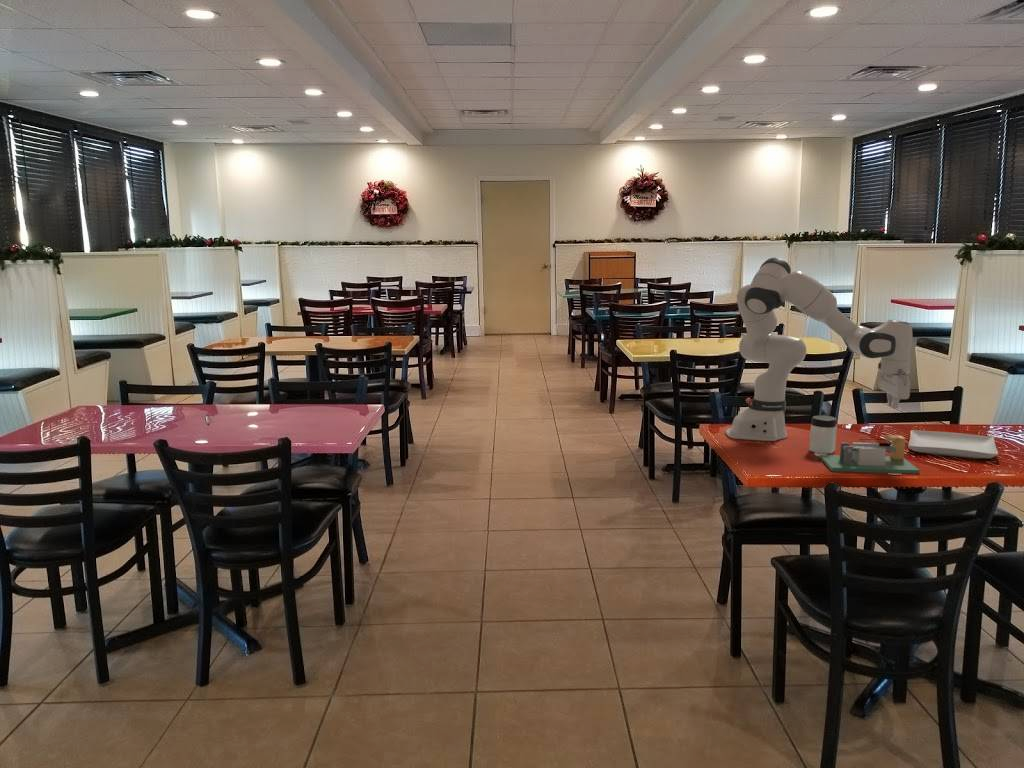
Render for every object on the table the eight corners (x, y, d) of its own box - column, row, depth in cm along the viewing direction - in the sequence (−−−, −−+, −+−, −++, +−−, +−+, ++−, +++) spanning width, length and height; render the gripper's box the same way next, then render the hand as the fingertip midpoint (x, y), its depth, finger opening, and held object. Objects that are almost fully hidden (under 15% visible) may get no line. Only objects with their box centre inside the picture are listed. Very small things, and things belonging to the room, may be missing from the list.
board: (831, 471, 258) (833, 450, 256) (819, 458, 273) (820, 438, 272) (919, 473, 254) (921, 452, 253) (901, 460, 270) (903, 440, 269)
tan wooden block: (885, 459, 267) (887, 438, 265) (881, 456, 271) (883, 435, 269) (903, 459, 266) (905, 438, 265) (899, 456, 270) (901, 435, 269)
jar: (840, 452, 280) (842, 419, 278) (823, 455, 277) (826, 421, 275) (820, 446, 288) (822, 414, 286) (804, 449, 285) (806, 416, 283)
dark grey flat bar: (844, 451, 262) (844, 448, 262) (842, 448, 265) (842, 445, 265) (895, 451, 260) (895, 448, 260) (892, 449, 263) (892, 446, 263)
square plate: (992, 445, 289) (993, 435, 289) (997, 464, 266) (998, 453, 265) (909, 437, 302) (910, 427, 301) (907, 454, 278) (908, 444, 278)
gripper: (916, 372, 260) (913, 413, 263) (895, 363, 280) (892, 401, 282) (896, 372, 261) (893, 413, 263) (876, 362, 281) (873, 401, 283)
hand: (892, 407), depth 273 cm, fingers closed
